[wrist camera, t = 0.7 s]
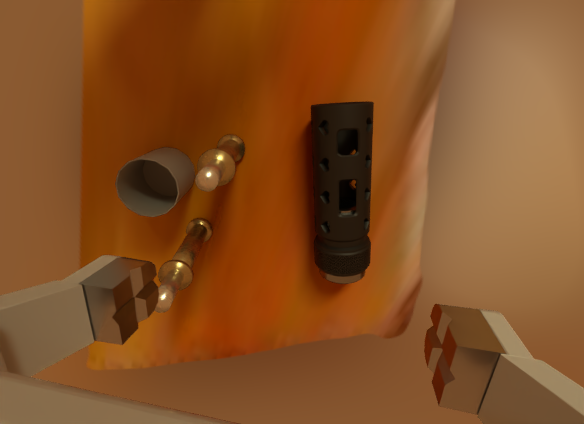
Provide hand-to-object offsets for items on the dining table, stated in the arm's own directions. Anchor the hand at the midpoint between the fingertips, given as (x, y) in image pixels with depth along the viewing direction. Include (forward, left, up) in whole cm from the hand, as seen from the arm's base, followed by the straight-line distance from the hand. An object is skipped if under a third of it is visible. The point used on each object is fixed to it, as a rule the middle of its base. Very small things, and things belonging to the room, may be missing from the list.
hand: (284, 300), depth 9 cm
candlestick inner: (+5, -5, -45) cm, 45 cm away
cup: (+13, -13, -45) cm, 48 cm away
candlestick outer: (+21, -5, -45) cm, 49 cm away
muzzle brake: (+4, +14, -45) cm, 47 cm away
